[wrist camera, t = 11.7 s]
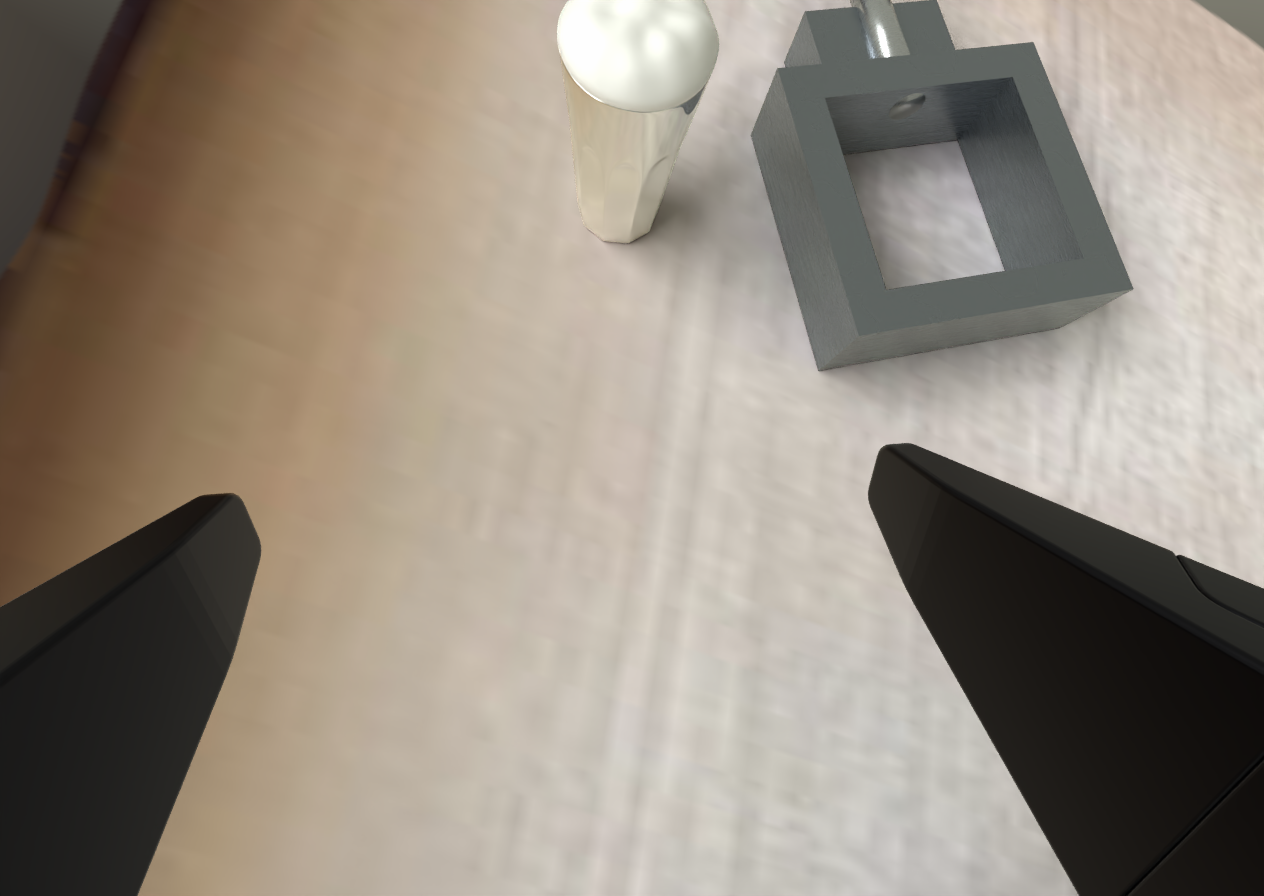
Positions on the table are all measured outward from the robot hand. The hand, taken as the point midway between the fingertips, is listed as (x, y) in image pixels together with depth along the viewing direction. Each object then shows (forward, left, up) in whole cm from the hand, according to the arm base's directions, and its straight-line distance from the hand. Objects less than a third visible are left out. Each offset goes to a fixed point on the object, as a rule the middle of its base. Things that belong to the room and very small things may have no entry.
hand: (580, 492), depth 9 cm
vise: (+13, -16, -13) cm, 25 cm away
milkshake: (+13, -5, -14) cm, 20 cm away
